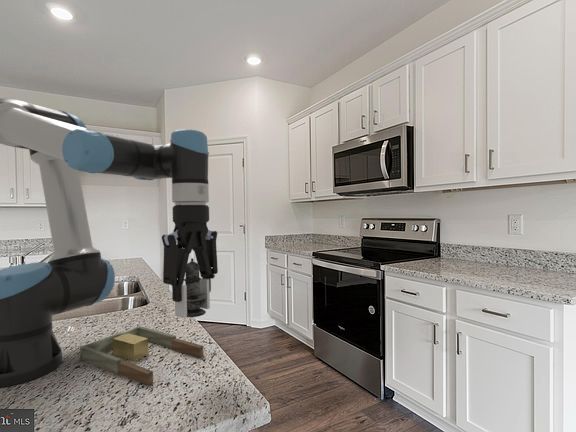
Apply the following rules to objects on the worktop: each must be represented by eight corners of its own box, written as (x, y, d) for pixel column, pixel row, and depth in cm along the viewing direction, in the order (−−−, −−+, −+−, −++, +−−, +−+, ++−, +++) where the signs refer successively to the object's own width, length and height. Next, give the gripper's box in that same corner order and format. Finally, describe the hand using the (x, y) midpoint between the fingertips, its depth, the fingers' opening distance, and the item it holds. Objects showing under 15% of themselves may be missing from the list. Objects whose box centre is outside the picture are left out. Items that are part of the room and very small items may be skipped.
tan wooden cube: (134, 360, 77) (133, 344, 77) (123, 357, 79) (123, 341, 79) (148, 354, 81) (148, 338, 81) (137, 351, 83) (137, 335, 83)
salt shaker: (196, 307, 74) (195, 255, 74) (212, 312, 70) (211, 257, 70) (173, 314, 69) (172, 258, 69) (189, 319, 66) (188, 260, 65)
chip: (123, 357, 79) (122, 341, 79) (112, 354, 81) (112, 338, 81) (137, 351, 83) (137, 335, 83) (127, 348, 85) (127, 333, 84)
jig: (146, 386, 66) (146, 371, 66) (80, 359, 78) (80, 346, 78) (204, 355, 79) (204, 343, 79) (139, 336, 92) (139, 326, 92)
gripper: (166, 203, 59) (168, 329, 60) (233, 204, 76) (234, 303, 76) (140, 204, 63) (143, 322, 64) (209, 205, 79) (211, 299, 80)
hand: (193, 311), depth 70 cm, fingers closed on salt shaker, 6 cm apart
